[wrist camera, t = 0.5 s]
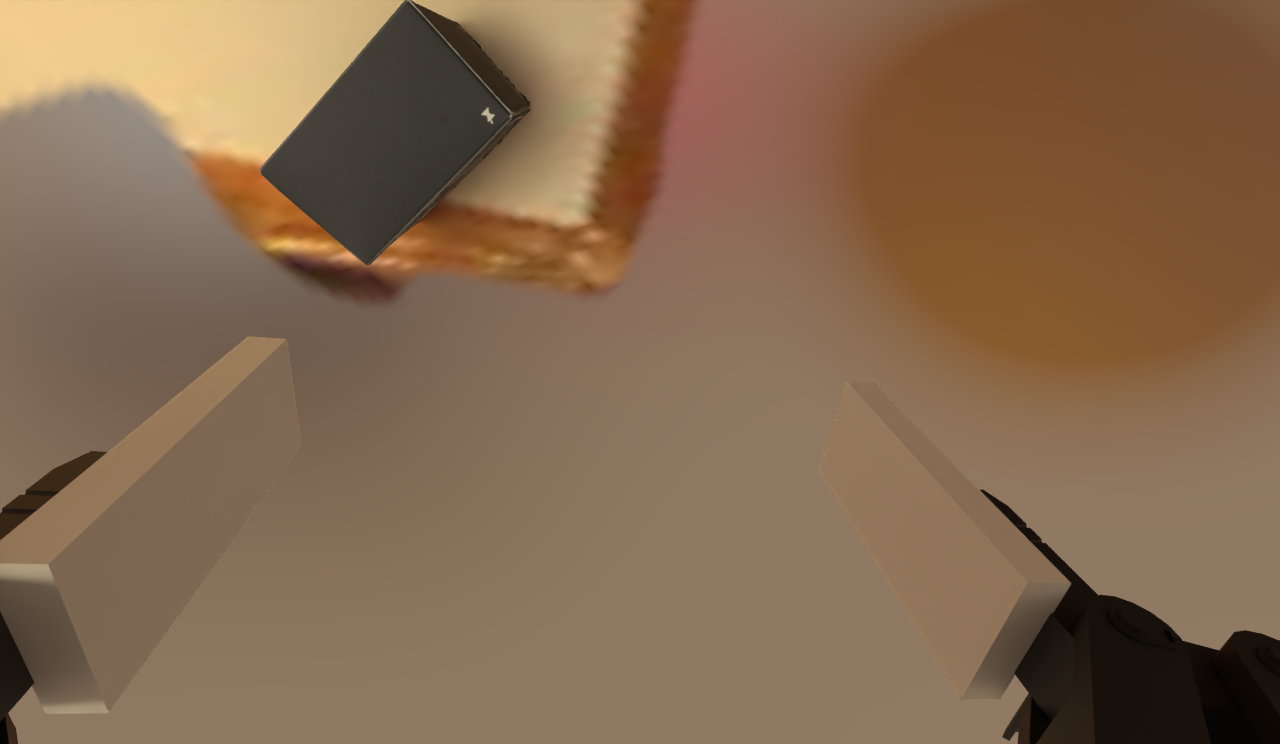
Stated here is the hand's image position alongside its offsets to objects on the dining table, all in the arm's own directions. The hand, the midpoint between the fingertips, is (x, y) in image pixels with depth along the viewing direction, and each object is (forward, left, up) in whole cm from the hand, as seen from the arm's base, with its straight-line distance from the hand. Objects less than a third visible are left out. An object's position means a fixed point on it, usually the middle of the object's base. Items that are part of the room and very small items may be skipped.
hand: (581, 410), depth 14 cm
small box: (-4, -8, -28) cm, 29 cm away
